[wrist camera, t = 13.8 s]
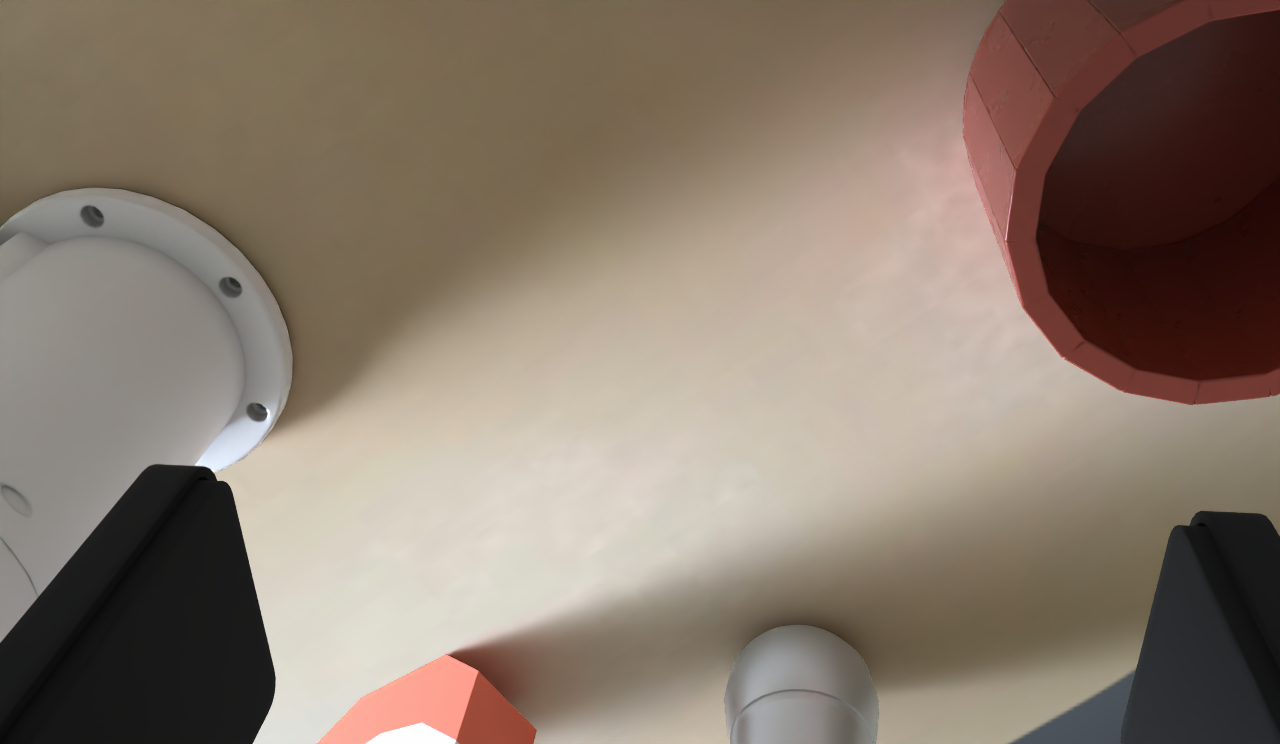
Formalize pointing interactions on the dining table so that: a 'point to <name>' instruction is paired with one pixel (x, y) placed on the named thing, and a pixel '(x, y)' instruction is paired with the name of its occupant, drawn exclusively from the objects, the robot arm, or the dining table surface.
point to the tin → (1138, 186)
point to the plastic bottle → (800, 691)
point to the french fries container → (434, 711)
